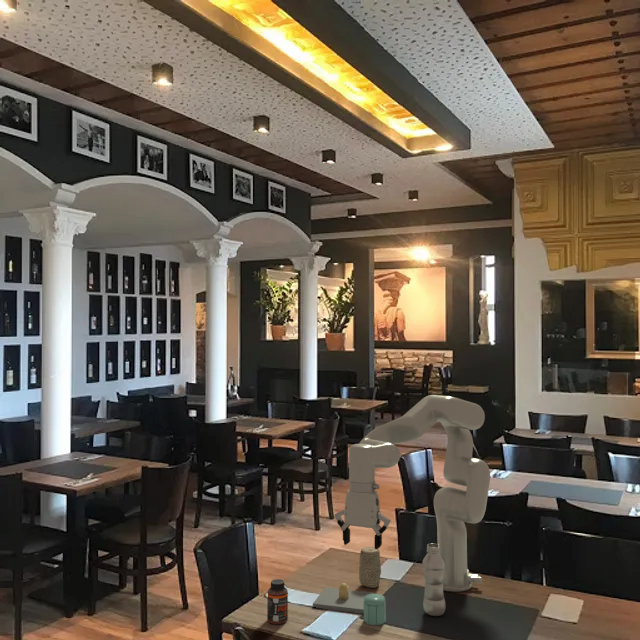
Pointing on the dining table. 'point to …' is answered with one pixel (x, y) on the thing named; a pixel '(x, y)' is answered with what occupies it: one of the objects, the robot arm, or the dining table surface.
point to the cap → (374, 609)
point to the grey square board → (341, 599)
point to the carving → (370, 567)
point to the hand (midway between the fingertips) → (362, 545)
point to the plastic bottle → (433, 581)
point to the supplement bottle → (277, 602)
